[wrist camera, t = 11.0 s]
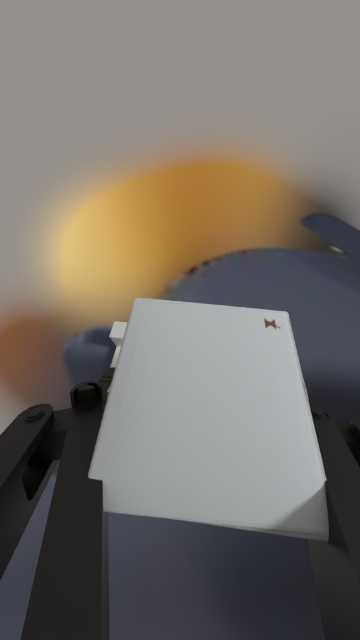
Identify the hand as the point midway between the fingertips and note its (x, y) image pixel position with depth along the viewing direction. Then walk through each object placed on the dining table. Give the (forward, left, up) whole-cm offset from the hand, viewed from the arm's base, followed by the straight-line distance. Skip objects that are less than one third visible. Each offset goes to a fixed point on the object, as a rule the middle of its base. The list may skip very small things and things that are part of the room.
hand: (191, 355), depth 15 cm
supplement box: (0, +4, -5) cm, 6 cm away
